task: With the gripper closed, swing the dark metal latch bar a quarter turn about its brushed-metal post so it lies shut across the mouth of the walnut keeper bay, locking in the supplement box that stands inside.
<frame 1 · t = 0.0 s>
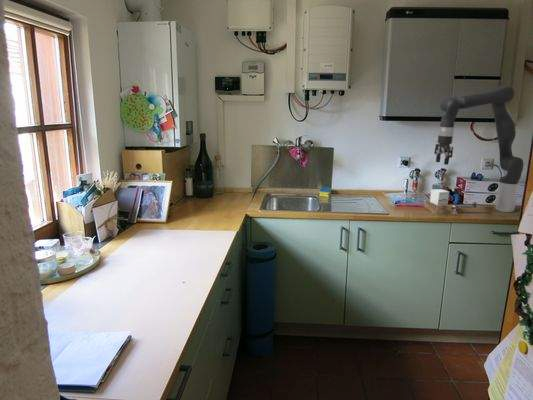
hand: (441, 163, 222), 29 cm above the worktop, fingers open, 8 cm apart
keeper: (437, 210, 232), on the worktop
latch bar: (464, 205, 227), point 5 cm above the worktop, hinge at 0.0°
supplement box: (437, 211, 232), resting in keeper
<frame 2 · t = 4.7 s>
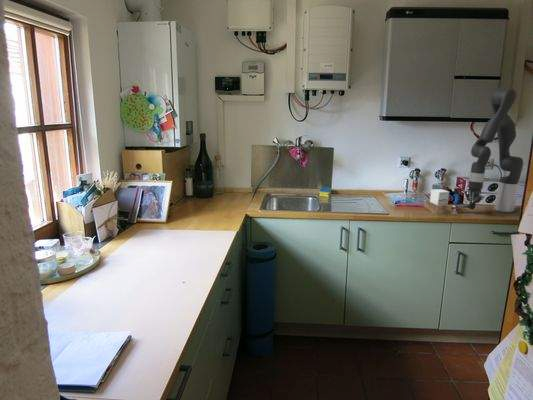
hand: (471, 208, 226), 3 cm above the worktop, fingers closed
latch bar: (463, 205, 227), point 5 cm above the worktop, hinge at 3.3°, touching gripper
everything else where it was.
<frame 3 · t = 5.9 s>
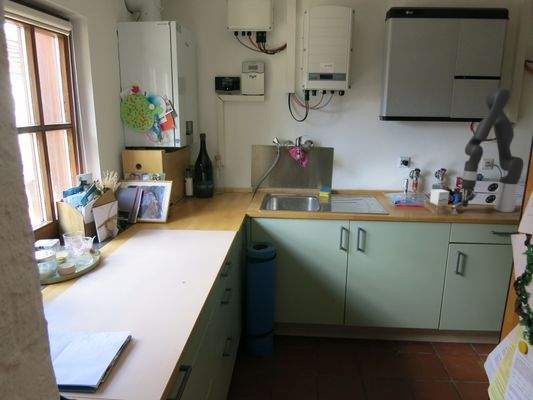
hand: (464, 206, 231), 3 cm above the worktop, fingers closed
latch bar: (458, 203, 230), point 5 cm above the worktop, hinge at 35.3°
everything else where it was.
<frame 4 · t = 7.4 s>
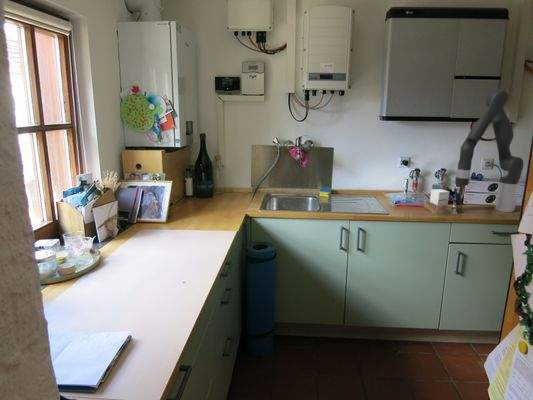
hand: (458, 204, 235), 3 cm above the worktop, fingers closed
latch bar: (454, 202, 232), point 5 cm above the worktop, hinge at 56.3°
everything else where it was.
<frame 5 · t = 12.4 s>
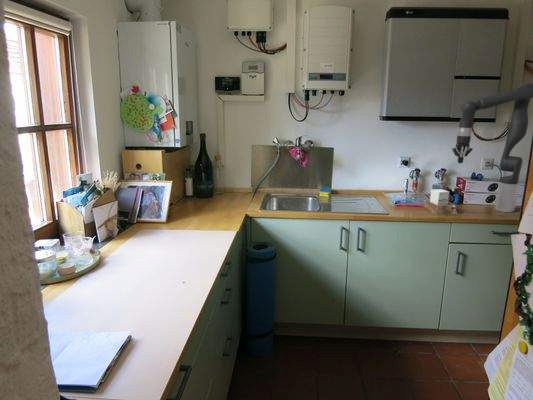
hand: (459, 163, 239), 27 cm above the worktop, fingers closed
latch bar: (449, 202, 232), point 5 cm above the worktop, hinge at 83.0°
everything else where it was.
at the end: latch bar at +83° (first picture: +0°); supplement box inside the target area (0.6 cm from its centre), resting in keeper; supplement box tilted 0° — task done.
